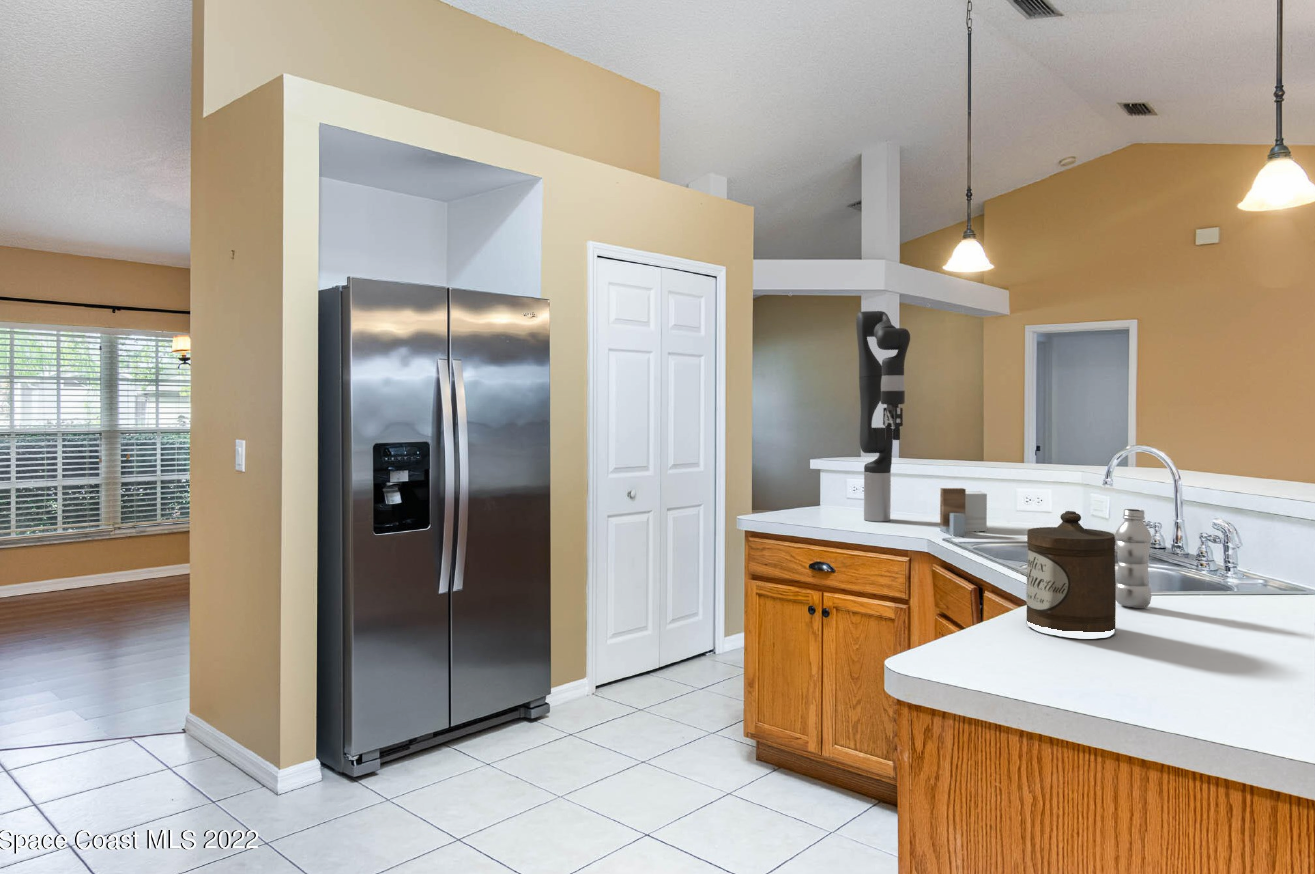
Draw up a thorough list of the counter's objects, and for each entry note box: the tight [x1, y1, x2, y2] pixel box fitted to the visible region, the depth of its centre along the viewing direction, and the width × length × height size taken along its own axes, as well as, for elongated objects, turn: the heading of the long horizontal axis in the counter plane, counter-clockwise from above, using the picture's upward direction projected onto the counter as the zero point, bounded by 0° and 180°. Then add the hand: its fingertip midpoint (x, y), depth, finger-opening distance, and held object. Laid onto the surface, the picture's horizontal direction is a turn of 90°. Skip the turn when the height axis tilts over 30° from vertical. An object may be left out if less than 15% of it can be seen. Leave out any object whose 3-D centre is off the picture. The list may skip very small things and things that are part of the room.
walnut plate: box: [939, 487, 967, 527], centre depth 265 cm, size 3×7×12 cm, turn 89°
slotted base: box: [939, 513, 966, 537], centre depth 266 cm, size 12×4×7 cm, turn 0°
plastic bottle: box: [1114, 508, 1153, 609], centre depth 169 cm, size 6×7×20 cm
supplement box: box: [965, 490, 988, 533], centre depth 272 cm, size 7×7×13 cm
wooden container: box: [1025, 510, 1117, 632], centre depth 153 cm, size 15×15×22 cm
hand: (892, 439), depth 270 cm, fingers open, 8 cm apart
